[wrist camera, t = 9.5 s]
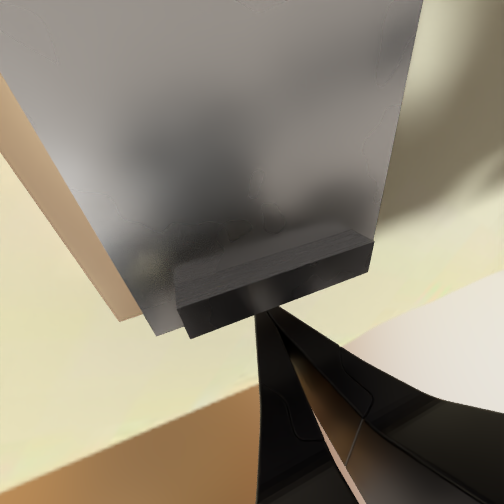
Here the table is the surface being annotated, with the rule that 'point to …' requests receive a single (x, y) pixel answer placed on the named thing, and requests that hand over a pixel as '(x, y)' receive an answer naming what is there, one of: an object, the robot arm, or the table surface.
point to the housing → (59, 204)
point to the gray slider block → (217, 138)
